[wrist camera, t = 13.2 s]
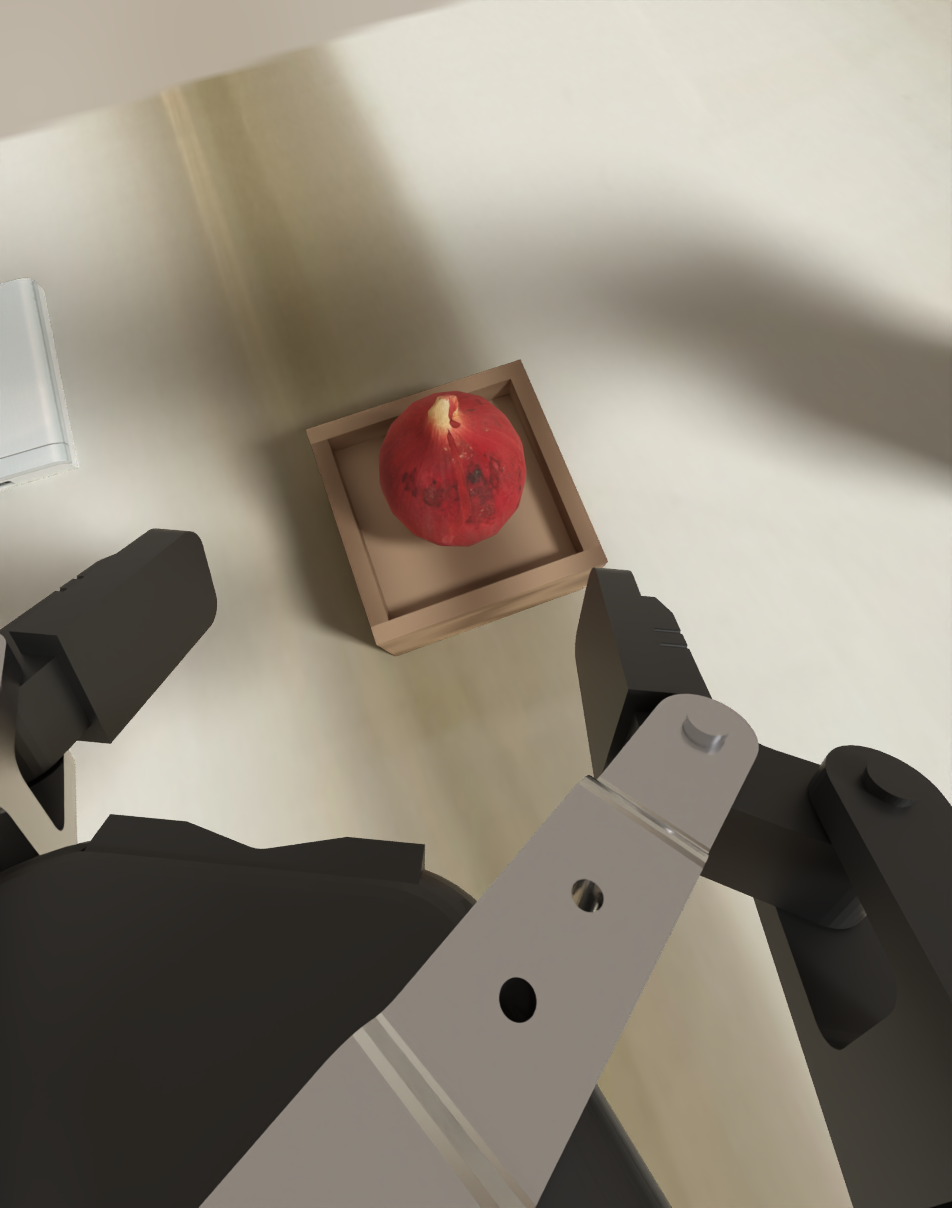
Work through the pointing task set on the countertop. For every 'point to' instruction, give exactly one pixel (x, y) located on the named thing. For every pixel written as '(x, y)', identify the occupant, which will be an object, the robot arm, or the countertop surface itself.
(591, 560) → the wooden tray
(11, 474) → the hard drive
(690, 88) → the countertop surface
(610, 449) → the countertop surface
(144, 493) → the countertop surface
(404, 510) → the onion
